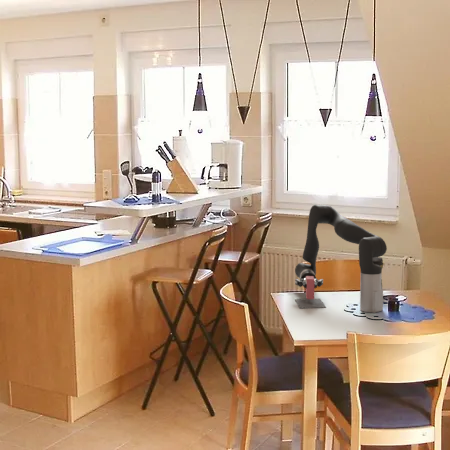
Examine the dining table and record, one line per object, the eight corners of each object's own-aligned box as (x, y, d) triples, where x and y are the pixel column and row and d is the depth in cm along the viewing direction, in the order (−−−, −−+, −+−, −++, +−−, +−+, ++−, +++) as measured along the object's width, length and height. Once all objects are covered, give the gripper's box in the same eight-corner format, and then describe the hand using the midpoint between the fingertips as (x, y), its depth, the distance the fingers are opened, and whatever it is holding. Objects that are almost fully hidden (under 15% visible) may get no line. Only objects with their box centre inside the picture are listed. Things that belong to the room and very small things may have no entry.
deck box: (305, 295, 361) (305, 276, 359) (313, 295, 361) (313, 276, 359) (306, 299, 354) (306, 279, 353) (314, 299, 354) (314, 279, 353)
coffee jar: (360, 294, 374) (361, 257, 371) (364, 291, 381) (365, 254, 378) (380, 296, 370) (380, 258, 367) (384, 293, 377) (384, 256, 374)
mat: (295, 300, 365) (295, 299, 365) (320, 299, 366) (320, 298, 366) (300, 308, 349) (300, 307, 349) (326, 307, 350) (326, 306, 350)
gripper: (293, 270, 370) (295, 278, 353) (322, 270, 370) (326, 278, 353) (293, 285, 371) (295, 294, 354) (322, 285, 371) (325, 294, 354)
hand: (310, 286), depth 354 cm, fingers closed on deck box, 3 cm apart
